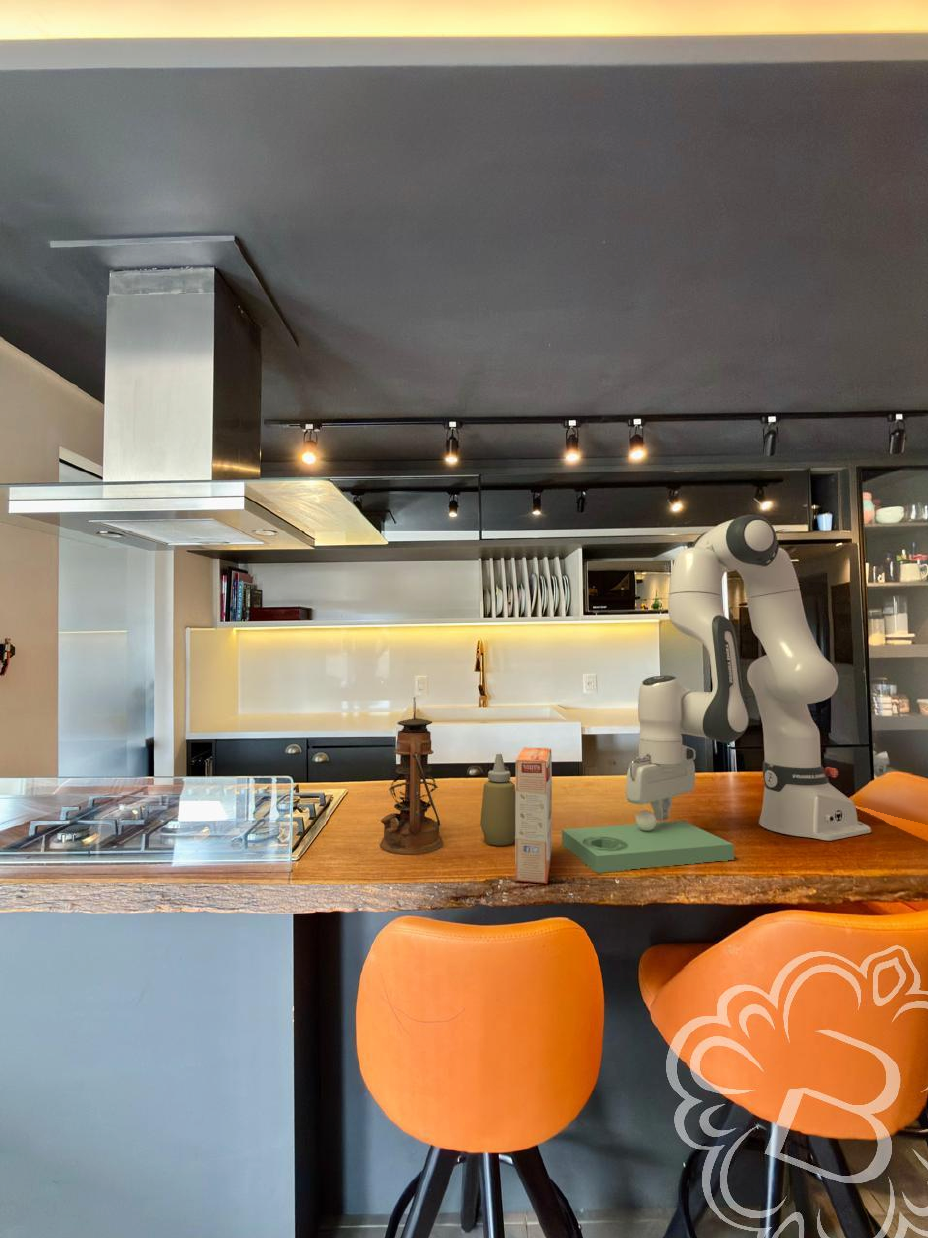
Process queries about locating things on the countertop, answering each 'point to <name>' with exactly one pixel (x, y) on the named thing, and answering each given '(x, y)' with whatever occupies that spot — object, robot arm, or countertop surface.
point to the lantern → (412, 794)
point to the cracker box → (533, 815)
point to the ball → (645, 820)
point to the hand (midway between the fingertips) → (661, 819)
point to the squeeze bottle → (498, 806)
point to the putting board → (645, 846)
